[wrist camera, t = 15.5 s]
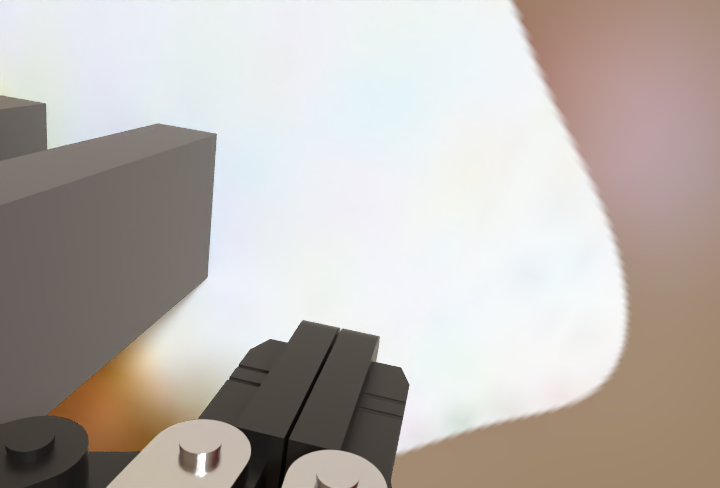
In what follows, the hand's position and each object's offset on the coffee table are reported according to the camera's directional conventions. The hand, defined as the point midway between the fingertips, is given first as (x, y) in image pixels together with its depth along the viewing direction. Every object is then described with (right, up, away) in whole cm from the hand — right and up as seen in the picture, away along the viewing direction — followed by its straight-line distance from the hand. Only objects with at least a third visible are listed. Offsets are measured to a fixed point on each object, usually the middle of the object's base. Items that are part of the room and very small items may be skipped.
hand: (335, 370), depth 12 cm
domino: (-5, +4, +9) cm, 11 cm away
